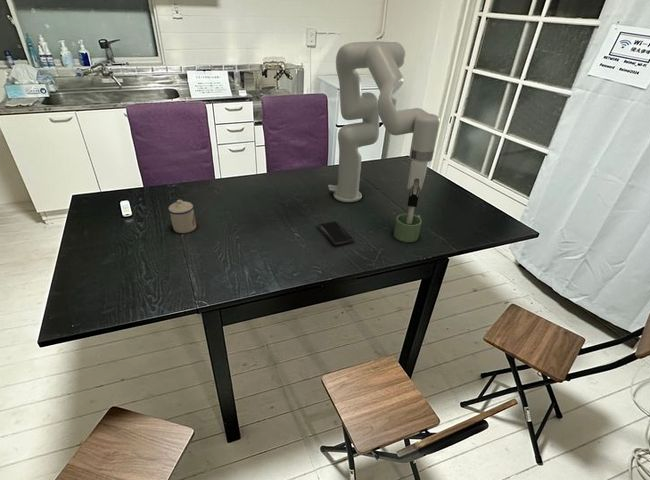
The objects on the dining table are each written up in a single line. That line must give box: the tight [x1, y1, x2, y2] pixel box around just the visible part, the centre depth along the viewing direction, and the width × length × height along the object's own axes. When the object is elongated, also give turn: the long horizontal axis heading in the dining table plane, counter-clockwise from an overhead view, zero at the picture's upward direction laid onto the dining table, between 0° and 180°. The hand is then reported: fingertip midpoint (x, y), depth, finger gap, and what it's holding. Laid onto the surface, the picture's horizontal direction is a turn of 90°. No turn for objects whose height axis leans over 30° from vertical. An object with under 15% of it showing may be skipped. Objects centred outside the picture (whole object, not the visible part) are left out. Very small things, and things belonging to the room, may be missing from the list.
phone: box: [318, 220, 353, 247], centre depth 144 cm, size 8×1×15 cm
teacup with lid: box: [168, 199, 197, 234], centre depth 145 cm, size 12×9×12 cm
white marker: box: [406, 187, 418, 224], centre depth 136 cm, size 2×2×14 cm
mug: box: [393, 213, 423, 243], centre depth 143 cm, size 12×9×7 cm
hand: (412, 204), depth 136 cm, fingers closed on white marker, 2 cm apart
